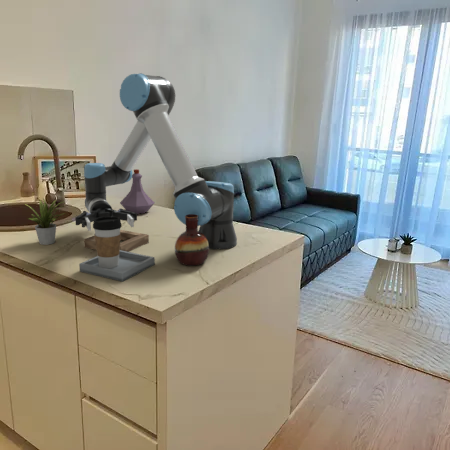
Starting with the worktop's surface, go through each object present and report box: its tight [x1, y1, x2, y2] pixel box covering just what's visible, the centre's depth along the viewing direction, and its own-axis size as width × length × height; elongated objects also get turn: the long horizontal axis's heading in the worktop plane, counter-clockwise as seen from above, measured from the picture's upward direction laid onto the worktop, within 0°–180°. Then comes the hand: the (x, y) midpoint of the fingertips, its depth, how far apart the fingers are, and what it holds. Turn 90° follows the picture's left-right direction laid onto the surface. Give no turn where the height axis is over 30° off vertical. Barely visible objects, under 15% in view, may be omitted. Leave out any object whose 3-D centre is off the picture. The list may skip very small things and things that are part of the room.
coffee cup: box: [92, 217, 122, 268], centre depth 130 cm, size 8×8×15 cm
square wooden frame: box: [83, 229, 150, 252], centre depth 153 cm, size 16×16×3 cm
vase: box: [174, 214, 210, 267], centre depth 137 cm, size 11×11×15 cm
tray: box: [78, 250, 156, 282], centre depth 132 cm, size 16×16×2 cm
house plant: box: [24, 198, 66, 246], centre depth 152 cm, size 14×14×16 cm
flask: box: [119, 169, 155, 215], centre depth 201 cm, size 16×16×20 cm
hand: (111, 224), depth 137 cm, fingers open, 13 cm apart
